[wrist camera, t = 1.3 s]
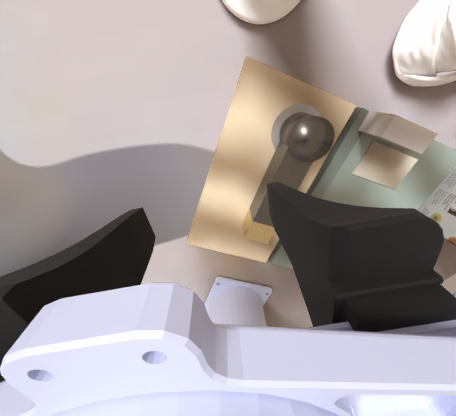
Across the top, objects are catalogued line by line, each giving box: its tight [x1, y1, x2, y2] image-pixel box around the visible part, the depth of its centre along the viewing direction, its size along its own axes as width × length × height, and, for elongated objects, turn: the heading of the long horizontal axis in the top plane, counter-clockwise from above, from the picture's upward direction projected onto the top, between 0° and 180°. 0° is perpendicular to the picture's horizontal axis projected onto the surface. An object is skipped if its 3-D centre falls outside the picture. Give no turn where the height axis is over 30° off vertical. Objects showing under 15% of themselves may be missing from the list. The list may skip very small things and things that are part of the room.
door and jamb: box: [186, 57, 456, 269], centre depth 21 cm, size 18×22×4 cm
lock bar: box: [242, 112, 335, 244], centre depth 18 cm, size 12×3×3 cm, turn 161°
